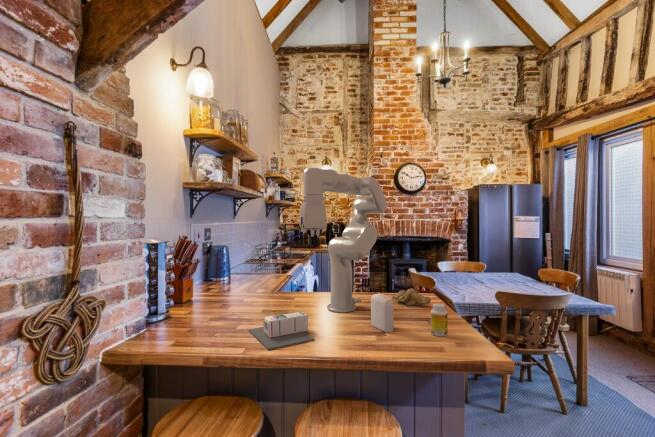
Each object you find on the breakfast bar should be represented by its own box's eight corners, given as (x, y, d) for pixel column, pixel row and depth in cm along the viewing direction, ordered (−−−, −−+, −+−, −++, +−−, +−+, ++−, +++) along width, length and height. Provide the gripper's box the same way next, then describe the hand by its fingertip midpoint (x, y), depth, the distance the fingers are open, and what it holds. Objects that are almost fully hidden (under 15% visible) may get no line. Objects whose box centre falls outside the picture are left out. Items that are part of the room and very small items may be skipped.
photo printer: (369, 325, 128) (369, 292, 128) (378, 323, 130) (378, 291, 130) (385, 333, 119) (385, 298, 119) (395, 331, 121) (395, 297, 121)
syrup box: (308, 314, 120) (268, 320, 113) (308, 331, 120) (268, 338, 113) (301, 310, 125) (263, 316, 118) (301, 327, 125) (263, 333, 118)
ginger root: (389, 296, 167) (393, 280, 167) (420, 304, 166) (424, 288, 166) (393, 306, 151) (398, 289, 151) (428, 315, 151) (433, 297, 150)
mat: (289, 323, 130) (289, 322, 130) (314, 340, 113) (314, 338, 113) (248, 331, 122) (248, 329, 122) (268, 350, 105) (268, 348, 105)
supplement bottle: (448, 337, 115) (448, 307, 115) (430, 336, 116) (430, 306, 116) (446, 332, 120) (446, 303, 120) (430, 330, 122) (430, 302, 122)
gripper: (325, 200, 141) (325, 244, 141) (292, 199, 133) (292, 246, 133) (334, 199, 134) (334, 246, 134) (300, 199, 127) (300, 248, 127)
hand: (313, 246), depth 134 cm, fingers closed
